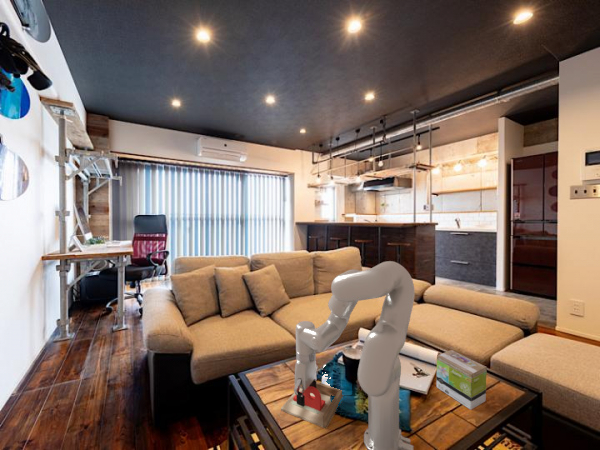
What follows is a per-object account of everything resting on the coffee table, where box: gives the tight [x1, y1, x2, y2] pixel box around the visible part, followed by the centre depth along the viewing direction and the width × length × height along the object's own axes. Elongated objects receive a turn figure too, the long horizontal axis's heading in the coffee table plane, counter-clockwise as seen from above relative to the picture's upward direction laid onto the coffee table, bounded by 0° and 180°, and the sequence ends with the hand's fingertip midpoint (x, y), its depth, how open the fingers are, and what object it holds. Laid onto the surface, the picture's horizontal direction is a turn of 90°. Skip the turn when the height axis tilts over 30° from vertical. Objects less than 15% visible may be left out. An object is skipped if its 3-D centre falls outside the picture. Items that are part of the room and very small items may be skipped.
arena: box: [280, 381, 343, 430], centre depth 109 cm, size 19×16×4 cm
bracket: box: [293, 386, 325, 411], centre depth 109 cm, size 12×4×8 cm, turn 59°
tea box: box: [436, 349, 488, 411], centre depth 113 cm, size 15×10×15 cm, turn 27°
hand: (306, 396), depth 108 cm, fingers open, 9 cm apart
